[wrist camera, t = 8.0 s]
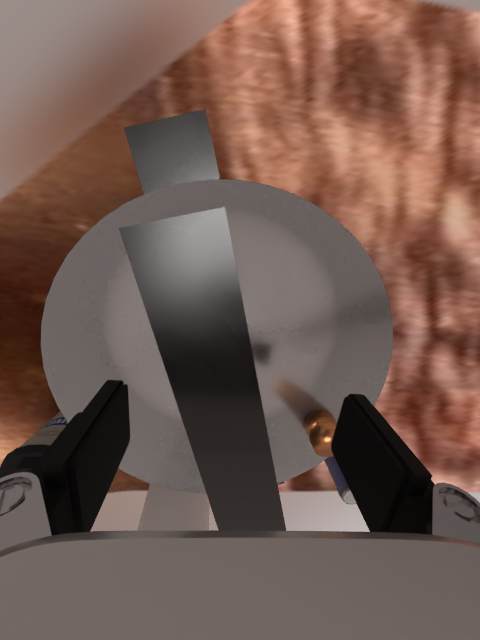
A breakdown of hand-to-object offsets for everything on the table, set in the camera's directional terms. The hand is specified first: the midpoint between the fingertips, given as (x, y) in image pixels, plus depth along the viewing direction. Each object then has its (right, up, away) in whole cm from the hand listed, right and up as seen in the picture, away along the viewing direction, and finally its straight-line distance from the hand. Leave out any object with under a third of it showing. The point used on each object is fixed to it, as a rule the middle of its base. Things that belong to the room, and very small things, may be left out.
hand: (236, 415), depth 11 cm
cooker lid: (-1, +2, +5) cm, 5 cm away
